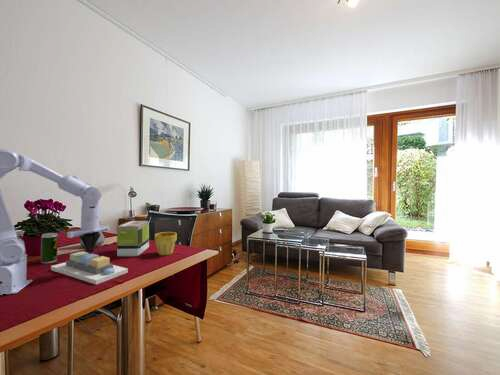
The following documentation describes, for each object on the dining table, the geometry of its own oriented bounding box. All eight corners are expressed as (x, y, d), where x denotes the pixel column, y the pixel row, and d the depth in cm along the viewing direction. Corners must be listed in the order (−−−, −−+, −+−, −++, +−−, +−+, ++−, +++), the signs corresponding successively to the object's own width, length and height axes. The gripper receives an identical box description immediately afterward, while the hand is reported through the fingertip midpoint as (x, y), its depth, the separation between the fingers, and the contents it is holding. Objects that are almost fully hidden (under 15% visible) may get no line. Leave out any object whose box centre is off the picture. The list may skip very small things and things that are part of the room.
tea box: (130, 247, 121) (130, 220, 121) (149, 247, 122) (150, 220, 122) (116, 256, 106) (116, 225, 106) (138, 256, 107) (138, 225, 107)
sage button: (88, 260, 91) (88, 252, 91) (76, 263, 87) (76, 255, 87) (82, 258, 93) (82, 251, 93) (69, 261, 89) (70, 254, 89)
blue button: (98, 262, 89) (98, 255, 89) (86, 266, 85) (86, 258, 85) (91, 261, 90) (91, 253, 90) (79, 264, 86) (79, 256, 86)
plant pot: (158, 258, 105) (159, 237, 105) (151, 252, 113) (151, 233, 113) (179, 254, 112) (180, 234, 112) (171, 249, 120) (171, 231, 120)
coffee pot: (80, 244, 124) (80, 217, 124) (104, 242, 130) (105, 216, 130) (77, 255, 106) (78, 223, 106) (106, 251, 113) (106, 221, 113)
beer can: (39, 264, 93) (39, 235, 93) (42, 260, 97) (42, 233, 97) (56, 262, 96) (56, 234, 96) (58, 258, 100) (58, 232, 100)
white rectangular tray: (127, 272, 87) (127, 263, 87) (95, 284, 76) (96, 274, 76) (83, 260, 99) (84, 253, 99) (50, 269, 88) (50, 261, 88)
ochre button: (109, 265, 86) (109, 257, 86) (97, 269, 82) (97, 261, 82) (102, 263, 88) (102, 256, 88) (90, 267, 84) (90, 259, 84)
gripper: (75, 221, 79) (74, 259, 79) (114, 216, 92) (114, 249, 92) (64, 219, 82) (63, 256, 82) (103, 214, 95) (103, 246, 95)
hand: (89, 252), depth 88 cm, fingers closed
